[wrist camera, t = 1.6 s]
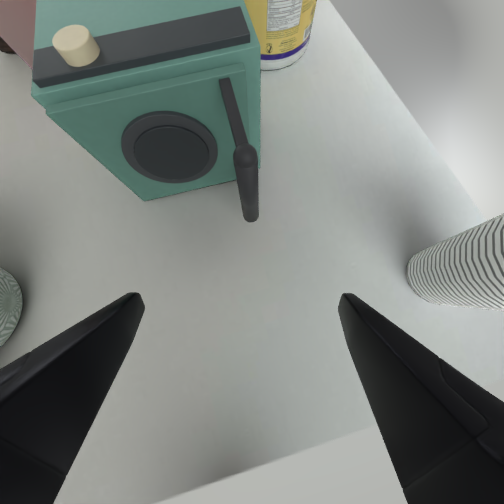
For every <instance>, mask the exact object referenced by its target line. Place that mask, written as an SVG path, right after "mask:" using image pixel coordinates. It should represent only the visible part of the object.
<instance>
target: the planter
mask: <svg viewBox="0 0 504 504" xmlns="http://www.w3.org/2000/svg"><path fill="white" fill-rule="evenodd" d="M21 311H22V293H21V289H20V287H19V284H18V283H17V281H16V280H15V279H14V277H13V276H12V275H11V274H10V273H8V272H7V271H5V270H4V269H2V268H0V347H1V346H2V345H3V344H4V343H5V342H6V341H7V339H8V338H9V337H10V335H11V334H12V332H13V331H14V329H15V327H16V325H17V323H18V321H19V318H20V315H21Z"/></svg>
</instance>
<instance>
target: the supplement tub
mask: <svg viewBox="0 0 504 504" xmlns="http://www.w3.org/2000/svg"><path fill="white" fill-rule="evenodd" d="M316 1H317V0H244V2H245V5H246V7H247V10H248V13H249V16H250V18H251V21H252V24H253V27H254V29H255V32H256V35H257V38H258V40H259V43H260V46H261V64H260V69H263V70H275V69H281V68H284V67H286V66H289V65H291V64H292V63H294V62H295V61H297V60H298V59H299V58H300V57H301V56H302V55H303V53H304V52H305V50H306V48H307V45H308V42H309V39H310V32H311V27H312V22H313V17H314V11H315V6H316Z"/></svg>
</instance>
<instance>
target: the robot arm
mask: <svg viewBox="0 0 504 504" xmlns="http://www.w3.org/2000/svg"><path fill="white" fill-rule="evenodd" d="M144 310H145V305H144V303H143V300H142V298H141V295H140V294H139V293H136V292H131V293H127V294H126V295H124V296H122V297H121V298H119V299H117V300H116V301H114V302H112V303H111V304H109V305H107V306H106V307H104V308H102V309H100V310H99V311H97V312H95V313H94V314H92V315H90V316H89V317H87V318H85V319H84V320H82V321H80V322H79V323H77V324H75V325H74V326H72V327H70V328H69V329H67V330H65V331H64V332H62V333H60V334H59V335H57V336H55V337H54V338H52V339H50V340H49V341H47V342H45V343H44V344H42V345H40V346H39V347H37V348H35V349H34V350H32V351H31V352H28V353H27V354H25V355H23V356H22V357H20V358H18V359H17V360H15V361H13V362H12V363H10V364H8V365H7V366H5V367H3V368H1V369H0V504H53V503H54V501H55V499H56V496H57V494H58V492H59V490H60V488H61V486H62V484H63V482H64V480H65V478H66V475H67V474H68V472H69V470H70V468H71V466H72V464H73V462H74V460H75V458H76V456H77V454H78V452H79V450H80V448H81V446H82V444H83V442H84V440H85V437H86V435H87V433H88V431H89V429H90V427H91V425H92V423H93V421H94V419H95V417H96V415H97V413H98V411H99V409H100V407H101V405H102V403H103V401H104V399H105V397H106V395H107V393H108V391H109V389H110V387H111V385H112V383H113V381H114V379H115V377H116V375H117V373H118V371H119V369H120V367H121V365H122V363H123V361H124V359H125V357H126V355H127V353H128V351H129V349H130V346H131V344H132V342H133V340H134V337H135V334H136V332H137V329H138V326H139V324H140V321H141V318H142V316H143V313H144ZM338 312H339V316H340V320H341V324H342V327H343V331H344V335H345V339H346V342H347V346H348V349H349V351H350V354H351V357H352V359H353V362H354V364H355V367H356V370H357V372H358V375H359V377H360V380H361V383H362V385H363V388H364V390H365V393H366V396H367V398H368V401H369V404H370V406H371V409H372V411H373V414H374V417H375V419H376V422H377V424H378V427H379V429H380V432H381V435H382V437H383V440H384V443H385V445H386V448H387V450H388V453H389V455H390V458H391V461H392V463H393V466H394V468H395V471H396V473H397V476H398V479H399V482H400V484H401V487H402V488H403V492H404V495H405V498H406V500H407V503H408V504H504V402H503V401H501V400H499V399H498V398H497V397H495V396H494V395H492V394H490V393H489V392H488V391H486V390H485V389H483V388H482V387H480V386H479V385H477V384H476V383H474V382H473V381H472V380H470V379H469V378H467V377H466V376H465V375H463V374H462V373H460V372H459V371H458V370H456V369H455V368H453V367H452V366H451V365H449V364H448V363H447V362H445V361H444V360H442V359H441V358H439V357H438V356H437V355H436V354H434V353H433V352H432V351H430V350H429V349H427V348H426V347H425V346H423V345H422V344H421V343H419V342H418V341H417V340H415V339H414V338H413V337H411V336H410V335H408V334H407V333H406V332H404V331H403V330H402V329H400V328H399V327H398V326H396V325H395V324H394V323H392V322H391V321H389V320H388V319H387V318H385V317H384V316H383V315H381V314H380V313H379V312H377V311H376V310H374V309H373V308H372V307H370V306H369V305H368V304H366V303H365V302H364V301H362V300H361V299H360V298H358V297H357V296H355V295H354V294H352V293H343V294H342V296H341V299H340V302H339V306H338Z"/></svg>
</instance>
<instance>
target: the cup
mask: <svg viewBox="0 0 504 504" xmlns="http://www.w3.org/2000/svg"><path fill="white" fill-rule="evenodd" d="M406 275H407V278H408V281H409V284H410V286H411V287H412V289H413V290H414V291H415V293H416V294H417V295H419V296H420V297H422V298H423V299H425V300H426V301H428V302H431V303H435V304H439V305H447V306H457V307H468V308H478V309H488V310H498V311H504V214H502V215H500V216H497V217H495V218H493V219H491V220H489V221H486V222H484V223H482V224H480V225H477V226H475V227H473V228H471V229H469V230H466V231H464V232H462V233H460V234H458V235H455V236H453V237H451V238H449V239H447V240H444V241H442V242H440V243H438V244H435V245H433V246H431V247H429V248H427V249H424V250H422V251H420V252H419V253H417V254H415V255H414V256H412V258H411V260H410V261H409V263H408V265H407V273H406Z"/></svg>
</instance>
